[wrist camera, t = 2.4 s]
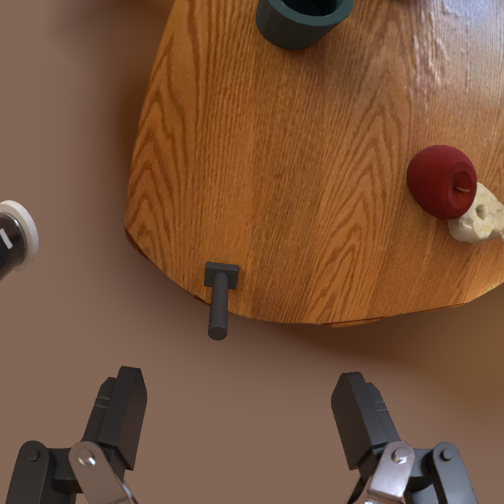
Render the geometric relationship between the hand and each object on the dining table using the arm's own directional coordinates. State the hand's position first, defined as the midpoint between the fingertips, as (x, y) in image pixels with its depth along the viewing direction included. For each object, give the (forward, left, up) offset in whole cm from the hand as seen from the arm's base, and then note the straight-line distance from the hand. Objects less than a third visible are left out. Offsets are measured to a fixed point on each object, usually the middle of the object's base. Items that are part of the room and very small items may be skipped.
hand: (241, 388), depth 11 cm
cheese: (+38, +6, -29) cm, 48 cm away
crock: (+3, +24, -28) cm, 37 cm away
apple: (+25, +8, -29) cm, 39 cm away
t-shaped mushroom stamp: (-1, -11, -28) cm, 31 cm away
